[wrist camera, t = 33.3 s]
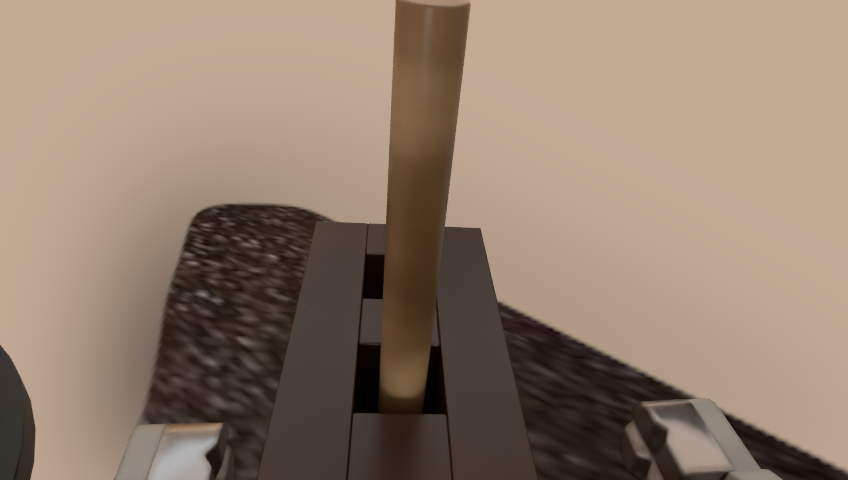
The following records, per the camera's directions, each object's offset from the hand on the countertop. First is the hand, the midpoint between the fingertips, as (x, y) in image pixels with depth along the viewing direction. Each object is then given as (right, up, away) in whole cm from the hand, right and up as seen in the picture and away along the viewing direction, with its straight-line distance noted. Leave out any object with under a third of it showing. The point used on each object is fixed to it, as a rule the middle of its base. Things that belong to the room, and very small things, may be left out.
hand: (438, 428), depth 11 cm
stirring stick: (-2, -8, +12) cm, 14 cm away
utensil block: (-2, -6, +14) cm, 16 cm away
